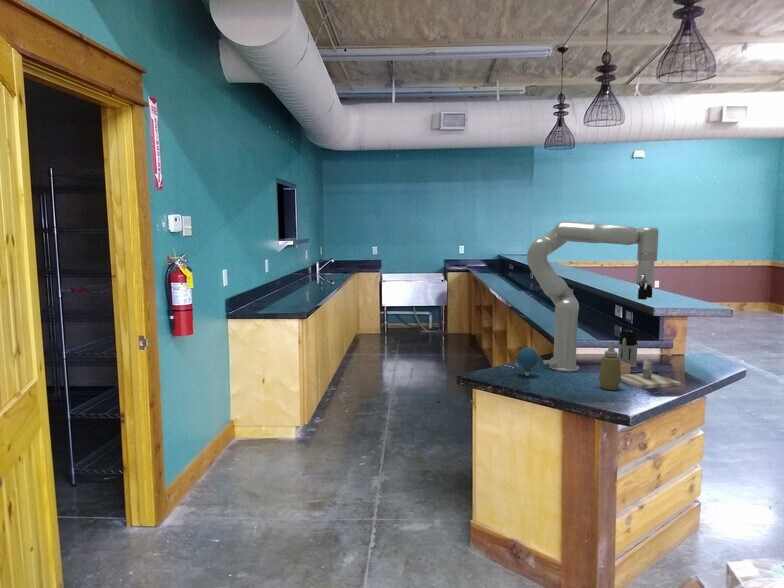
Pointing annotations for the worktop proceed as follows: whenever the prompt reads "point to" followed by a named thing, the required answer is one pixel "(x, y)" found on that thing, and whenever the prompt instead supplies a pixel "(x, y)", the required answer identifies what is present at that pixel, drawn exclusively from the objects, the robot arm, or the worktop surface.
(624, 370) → the collar
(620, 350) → the glass holder
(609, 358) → the squeeze bottle
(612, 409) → the worktop surface
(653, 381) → the base
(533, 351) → the light bulb
